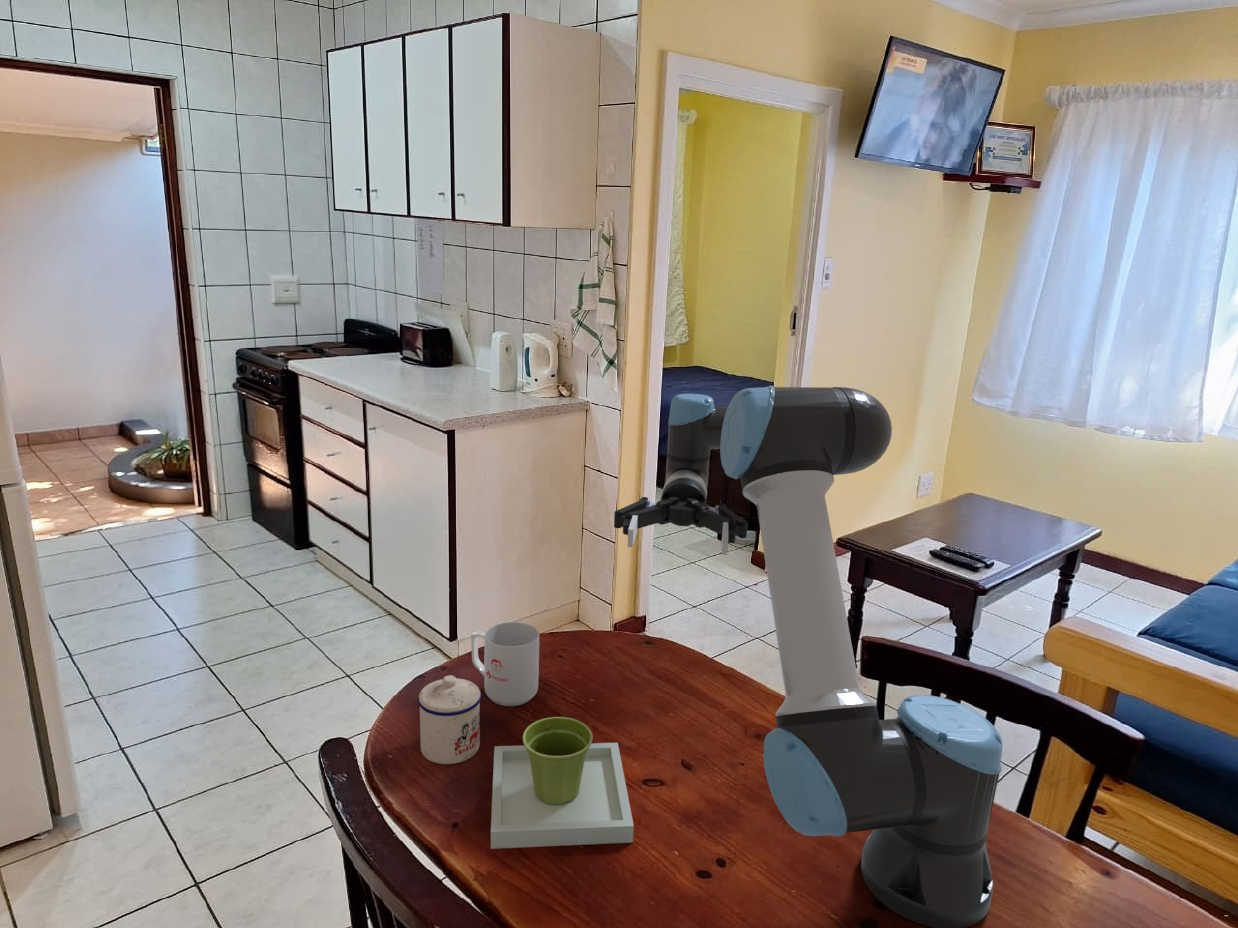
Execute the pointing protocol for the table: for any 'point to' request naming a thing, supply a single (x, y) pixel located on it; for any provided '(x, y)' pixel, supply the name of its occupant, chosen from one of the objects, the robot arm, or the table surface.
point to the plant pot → (557, 757)
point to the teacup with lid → (449, 720)
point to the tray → (576, 822)
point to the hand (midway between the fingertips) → (677, 542)
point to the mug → (509, 662)
